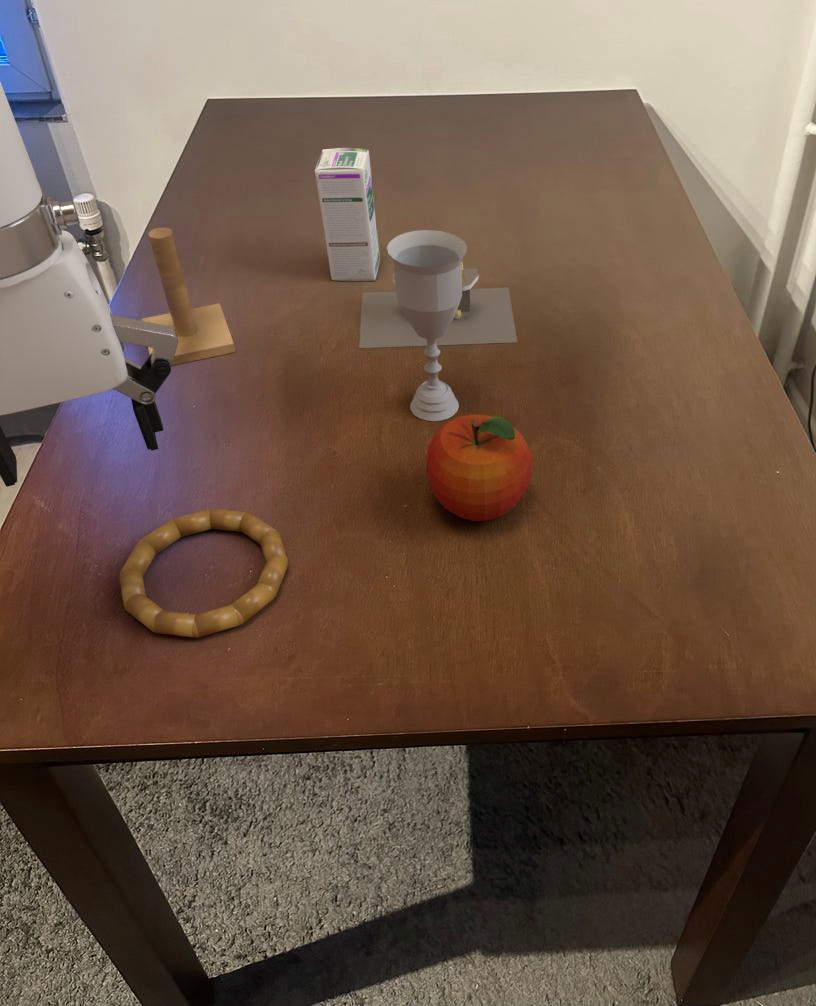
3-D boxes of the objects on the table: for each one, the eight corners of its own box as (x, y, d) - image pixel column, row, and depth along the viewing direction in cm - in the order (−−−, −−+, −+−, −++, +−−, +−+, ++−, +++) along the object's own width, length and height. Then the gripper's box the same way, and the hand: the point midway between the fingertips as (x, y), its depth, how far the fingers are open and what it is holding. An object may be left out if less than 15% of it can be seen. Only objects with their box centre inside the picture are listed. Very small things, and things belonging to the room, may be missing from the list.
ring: (133, 661, 70) (127, 647, 69) (116, 543, 79) (111, 529, 78) (303, 611, 73) (300, 597, 72) (269, 504, 82) (265, 490, 81)
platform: (517, 342, 101) (519, 291, 97) (359, 348, 101) (353, 297, 96) (508, 287, 110) (509, 238, 105) (362, 292, 109) (357, 243, 105)
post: (153, 369, 98) (119, 260, 88) (144, 327, 104) (111, 221, 94) (235, 352, 100) (210, 244, 91) (221, 311, 106) (197, 206, 97)
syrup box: (376, 281, 111) (365, 167, 101) (329, 281, 111) (313, 167, 101) (380, 259, 115) (370, 147, 105) (335, 258, 115) (320, 147, 105)
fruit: (461, 454, 87) (459, 371, 80) (547, 488, 84) (553, 404, 77) (407, 514, 82) (400, 429, 75) (497, 552, 78) (499, 468, 71)
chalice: (478, 394, 94) (477, 237, 82) (456, 432, 90) (451, 273, 77) (414, 380, 96) (404, 225, 84) (389, 418, 92) (374, 259, 79)
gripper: (131, 183, 57) (196, 397, 69) (-171, 236, 52) (-46, 454, 64) (146, 237, 52) (212, 457, 64) (-188, 300, 47) (-48, 523, 59)
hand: (83, 455), depth 64 cm, fingers open, 9 cm apart
